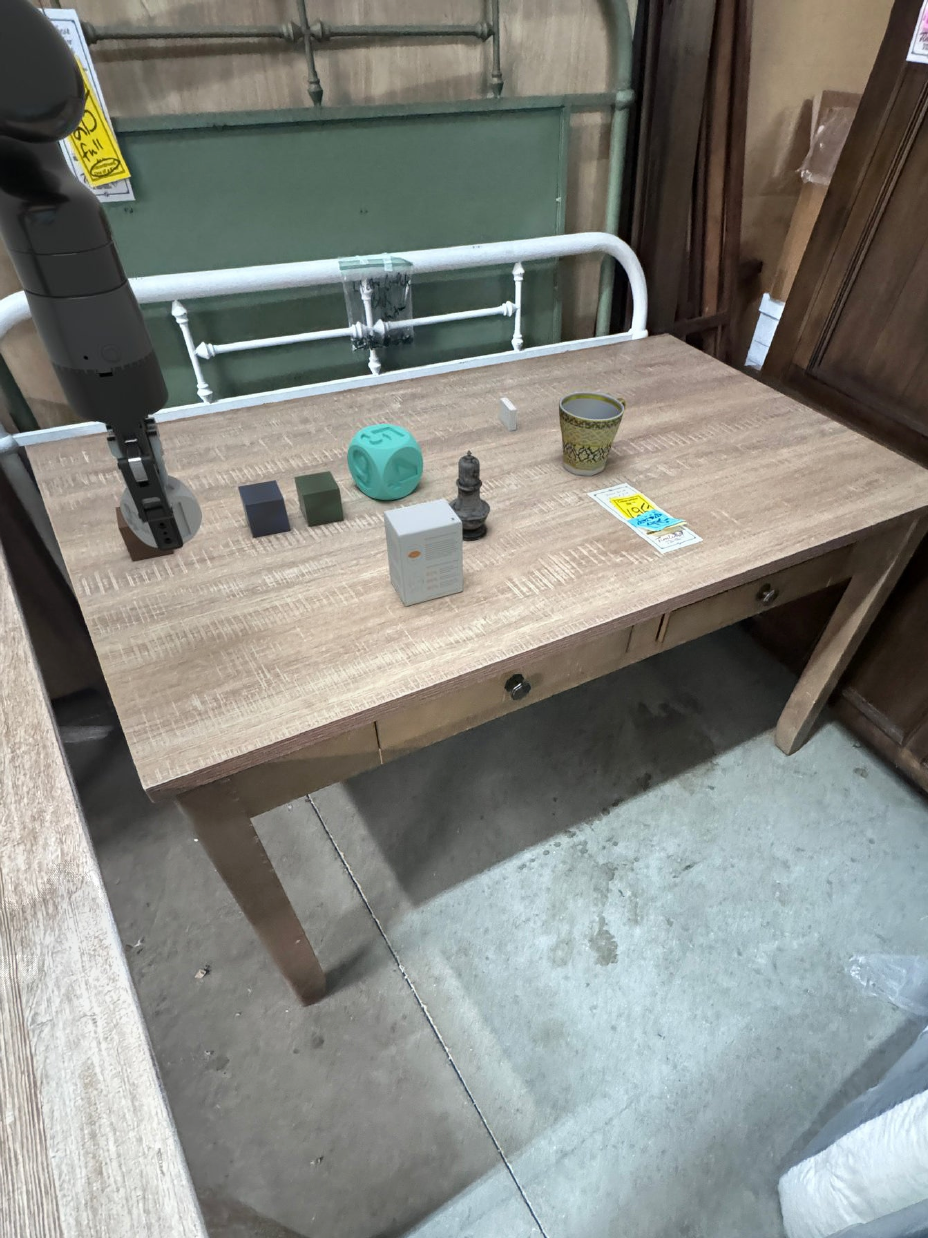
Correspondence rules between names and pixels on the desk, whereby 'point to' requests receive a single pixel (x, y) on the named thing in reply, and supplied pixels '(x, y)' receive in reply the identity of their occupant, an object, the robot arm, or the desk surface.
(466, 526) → the black chess piece
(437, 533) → the small box
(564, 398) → the ceramic cup
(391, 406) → the desk surface
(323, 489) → the row of mixed cubes
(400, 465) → the decorative dice
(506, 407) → the eraser
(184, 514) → the die
